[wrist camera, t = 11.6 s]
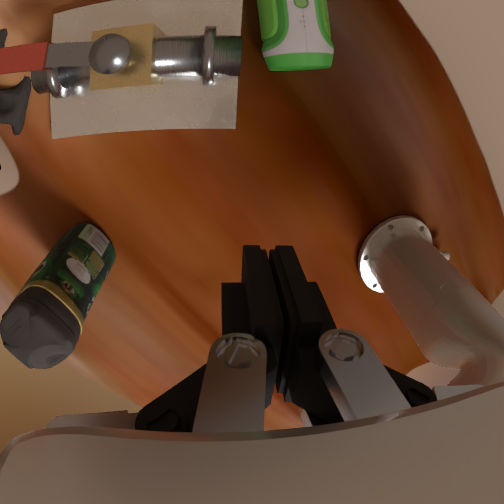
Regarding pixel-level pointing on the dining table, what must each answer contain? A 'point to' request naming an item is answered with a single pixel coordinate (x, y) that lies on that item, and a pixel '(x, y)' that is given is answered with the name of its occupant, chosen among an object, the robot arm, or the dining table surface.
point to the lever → (69, 55)
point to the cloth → (14, 99)
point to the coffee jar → (57, 298)
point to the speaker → (295, 34)
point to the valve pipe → (149, 68)
